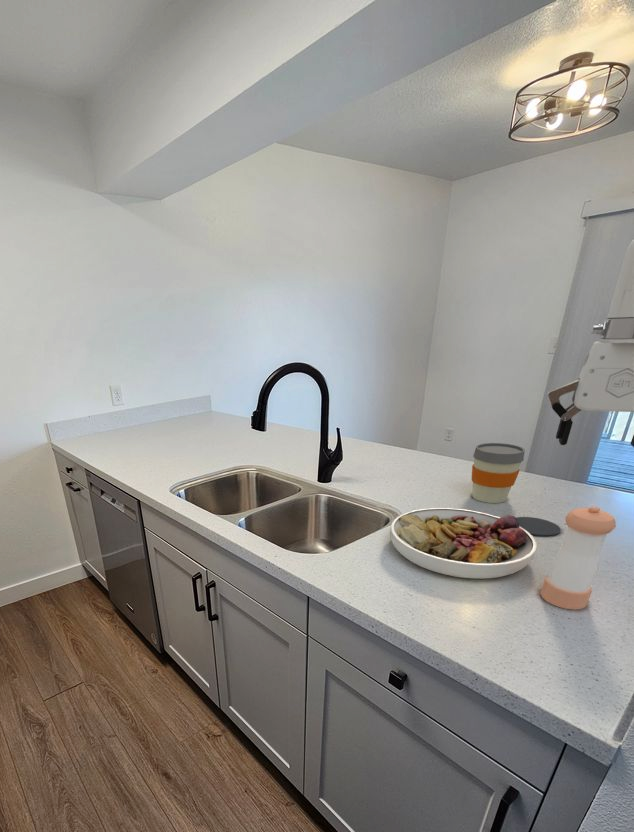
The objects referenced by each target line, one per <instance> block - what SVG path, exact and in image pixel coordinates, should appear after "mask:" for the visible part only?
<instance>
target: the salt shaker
mask: <svg viewBox="0 0 634 832" xmlns="http://www.w3.org/2000/svg"><path fill="white" fill-rule="evenodd" d="M565 525H566V526H567V528H566V532H565V535H564V538H563V541H562V545H560V548H559V550H558V552H557V553H556V555H555V556H554V559H553V561H552V563H551V567H550V570H549V573H548V575H547V576H546V577H545V578H544V581H543V584H542V588H541V590H540V596H541V598H542V599H543V600H544V601H546V602H547V603H549V604H551V605H553V606H555V607H558V608H562V609H564V610H565V609H566V610H574V611H575V610H582V609H585V608H586V607H587V605H588V603H589V599H590V598H591V595H592V592H593V587H592V585H593V583H594V580H595V578H596V576H597V573H598V565H599V556H600V554H601V551H602V548H603V545H604V542H605V539H606V537H607V534H610V533H612V532H613V531H614V529H616V526H617V521H616V519H615V517H614V515H612V514H611V513H608V512H607V511H604V510H603V509H602V510H601V509H600V508H599V507H598V506H594V505H593V506H590V507H579V508H574V509H572V510H571V511H569V512H568V513H567V514H566V516H565Z"/></svg>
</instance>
